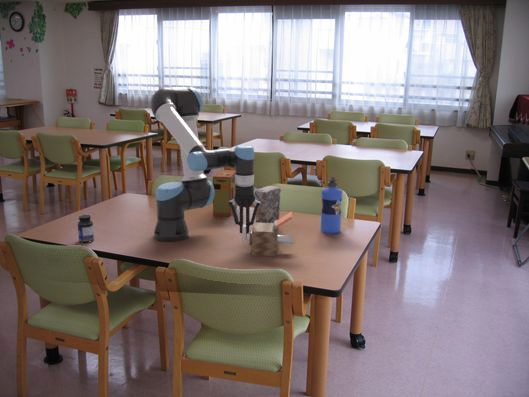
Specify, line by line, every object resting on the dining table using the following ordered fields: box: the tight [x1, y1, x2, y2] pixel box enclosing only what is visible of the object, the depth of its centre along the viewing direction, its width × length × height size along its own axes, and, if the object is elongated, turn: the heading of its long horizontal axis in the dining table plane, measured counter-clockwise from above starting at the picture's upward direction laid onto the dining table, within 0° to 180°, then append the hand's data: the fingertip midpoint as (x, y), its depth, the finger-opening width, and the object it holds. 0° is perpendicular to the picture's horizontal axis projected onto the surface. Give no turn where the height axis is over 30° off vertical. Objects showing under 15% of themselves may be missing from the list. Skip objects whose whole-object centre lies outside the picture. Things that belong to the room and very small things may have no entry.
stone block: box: [254, 185, 281, 223], centre depth 244 cm, size 13×7×20 cm, turn 151°
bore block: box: [251, 222, 280, 257], centre depth 218 cm, size 10×12×10 cm
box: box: [212, 169, 238, 217], centre depth 275 cm, size 17×9×20 cm, turn 172°
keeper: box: [273, 210, 294, 230], centre depth 216 cm, size 9×9×2 cm
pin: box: [248, 230, 294, 247], centre depth 218 cm, size 17×6×6 cm, turn 85°
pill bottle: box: [77, 214, 95, 243], centre depth 228 cm, size 6×6×11 cm
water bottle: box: [320, 176, 343, 235], centre depth 243 cm, size 9×9×25 cm
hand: (244, 240), depth 219 cm, fingers closed
